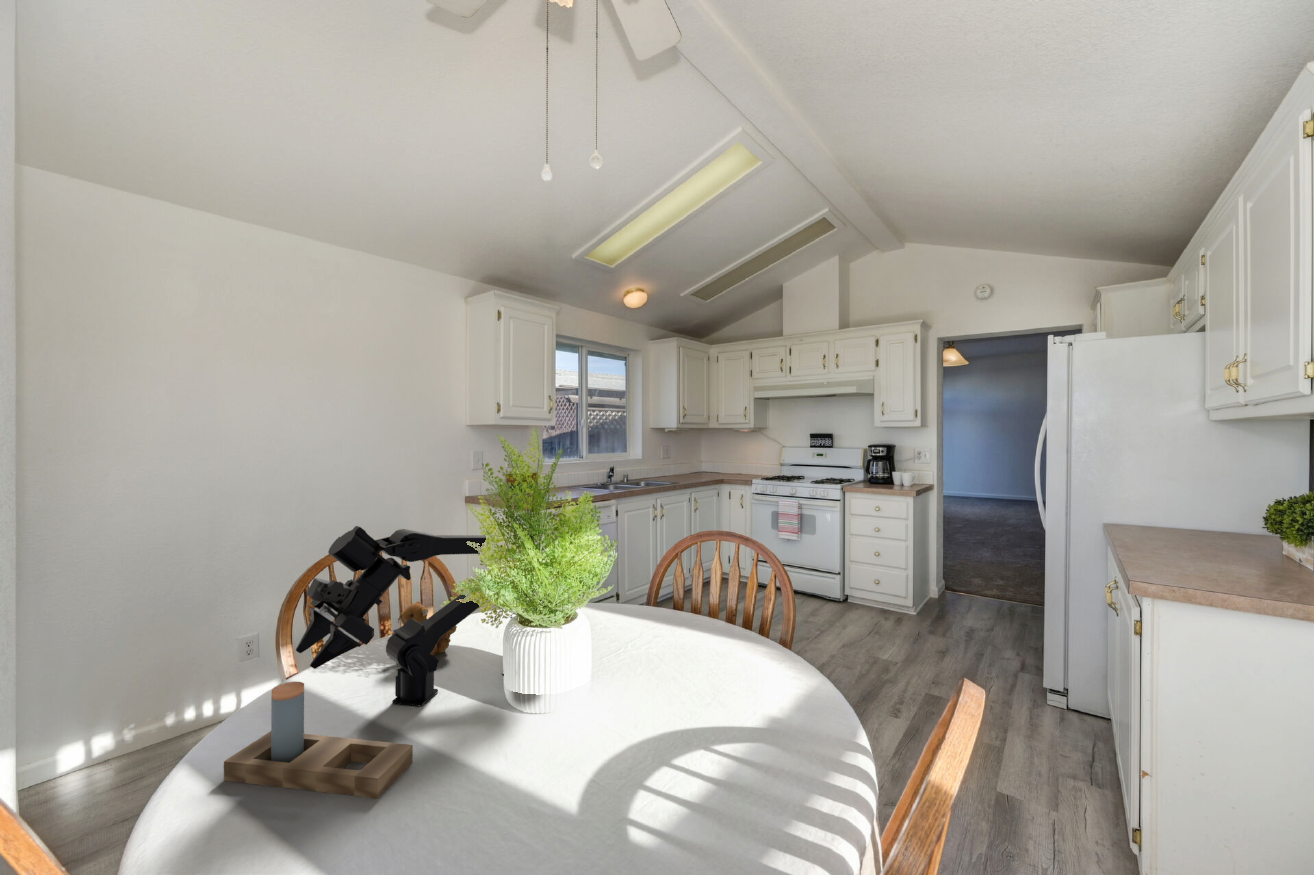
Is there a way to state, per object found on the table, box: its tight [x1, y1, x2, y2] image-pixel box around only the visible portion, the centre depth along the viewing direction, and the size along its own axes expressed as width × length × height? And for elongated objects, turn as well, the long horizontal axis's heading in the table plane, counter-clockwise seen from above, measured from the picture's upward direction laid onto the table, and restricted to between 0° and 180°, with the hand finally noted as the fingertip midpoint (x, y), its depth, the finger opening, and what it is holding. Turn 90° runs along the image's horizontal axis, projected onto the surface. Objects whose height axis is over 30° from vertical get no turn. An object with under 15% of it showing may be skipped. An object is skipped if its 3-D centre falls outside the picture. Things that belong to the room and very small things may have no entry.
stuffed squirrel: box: [391, 600, 458, 656], centre depth 135 cm, size 10×14×13 cm
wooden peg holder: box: [223, 730, 414, 799], centre depth 89 cm, size 26×9×3 cm, turn 82°
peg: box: [270, 681, 305, 763], centre depth 90 cm, size 4×4×13 cm
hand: (304, 659), depth 100 cm, fingers open, 9 cm apart
